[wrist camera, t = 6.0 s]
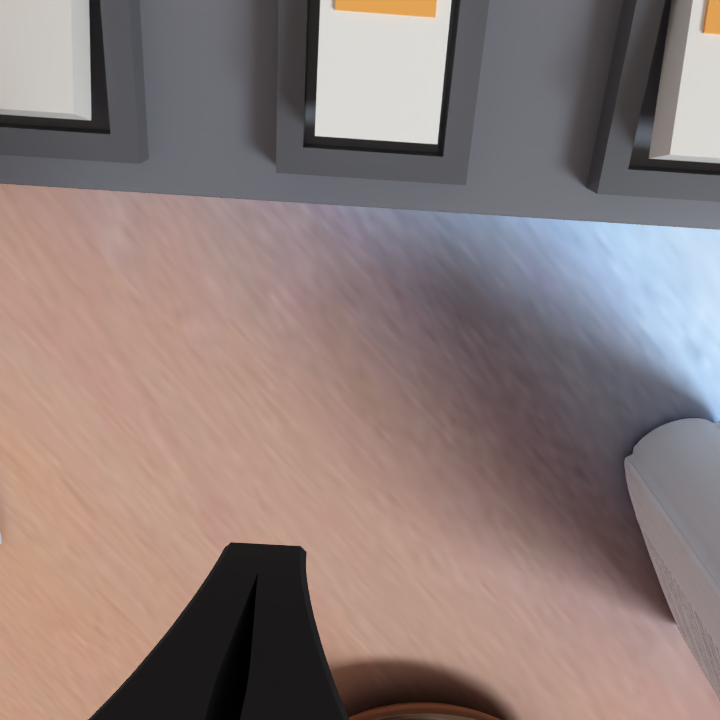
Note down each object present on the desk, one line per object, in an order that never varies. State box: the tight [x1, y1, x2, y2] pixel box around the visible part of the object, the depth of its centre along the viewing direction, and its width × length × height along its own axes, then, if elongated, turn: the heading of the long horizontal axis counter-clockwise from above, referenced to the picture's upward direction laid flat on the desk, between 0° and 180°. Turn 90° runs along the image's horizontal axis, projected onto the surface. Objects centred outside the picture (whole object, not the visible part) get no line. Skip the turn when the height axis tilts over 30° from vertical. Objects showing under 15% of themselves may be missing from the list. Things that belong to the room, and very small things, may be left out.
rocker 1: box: [0, 0, 91, 121], centre depth 14 cm, size 3×4×1 cm
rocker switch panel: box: [0, 0, 720, 230], centre depth 16 cm, size 32×7×4 cm, turn 86°
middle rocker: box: [315, 0, 452, 144], centre depth 14 cm, size 3×4×1 cm
